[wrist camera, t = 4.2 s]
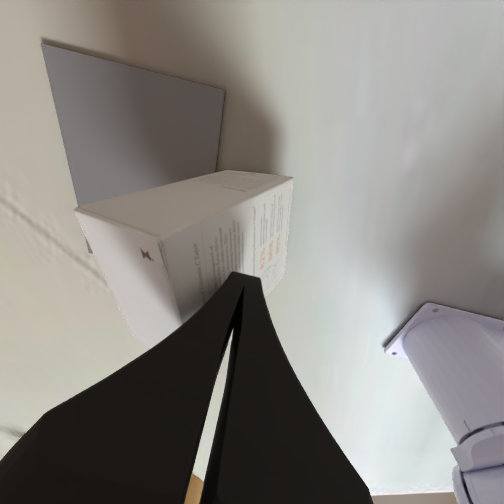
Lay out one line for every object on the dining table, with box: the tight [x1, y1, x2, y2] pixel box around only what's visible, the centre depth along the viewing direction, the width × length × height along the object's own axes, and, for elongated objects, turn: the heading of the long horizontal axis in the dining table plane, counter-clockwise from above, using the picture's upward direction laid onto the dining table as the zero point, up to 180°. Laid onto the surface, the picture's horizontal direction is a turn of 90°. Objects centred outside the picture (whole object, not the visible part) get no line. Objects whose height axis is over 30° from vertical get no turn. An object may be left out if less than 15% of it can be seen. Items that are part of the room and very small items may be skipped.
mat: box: [41, 43, 225, 254], centre depth 17 cm, size 12×16×1 cm
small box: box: [74, 170, 294, 349], centre depth 13 cm, size 8×6×10 cm
